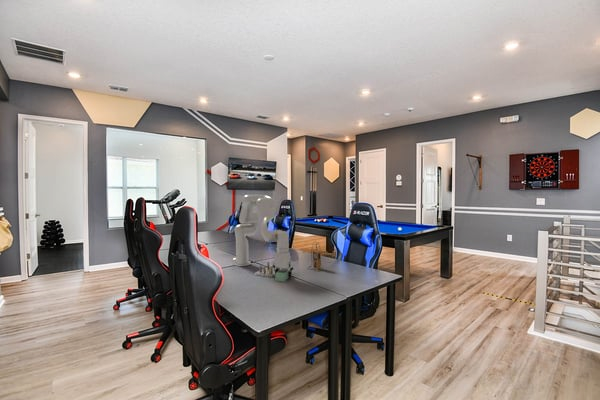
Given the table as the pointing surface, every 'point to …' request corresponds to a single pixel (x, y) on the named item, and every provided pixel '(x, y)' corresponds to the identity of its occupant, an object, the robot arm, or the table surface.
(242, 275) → the table surface
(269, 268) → the chassis
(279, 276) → the module
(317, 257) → the multimeter
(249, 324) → the table surface
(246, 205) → the robot arm
